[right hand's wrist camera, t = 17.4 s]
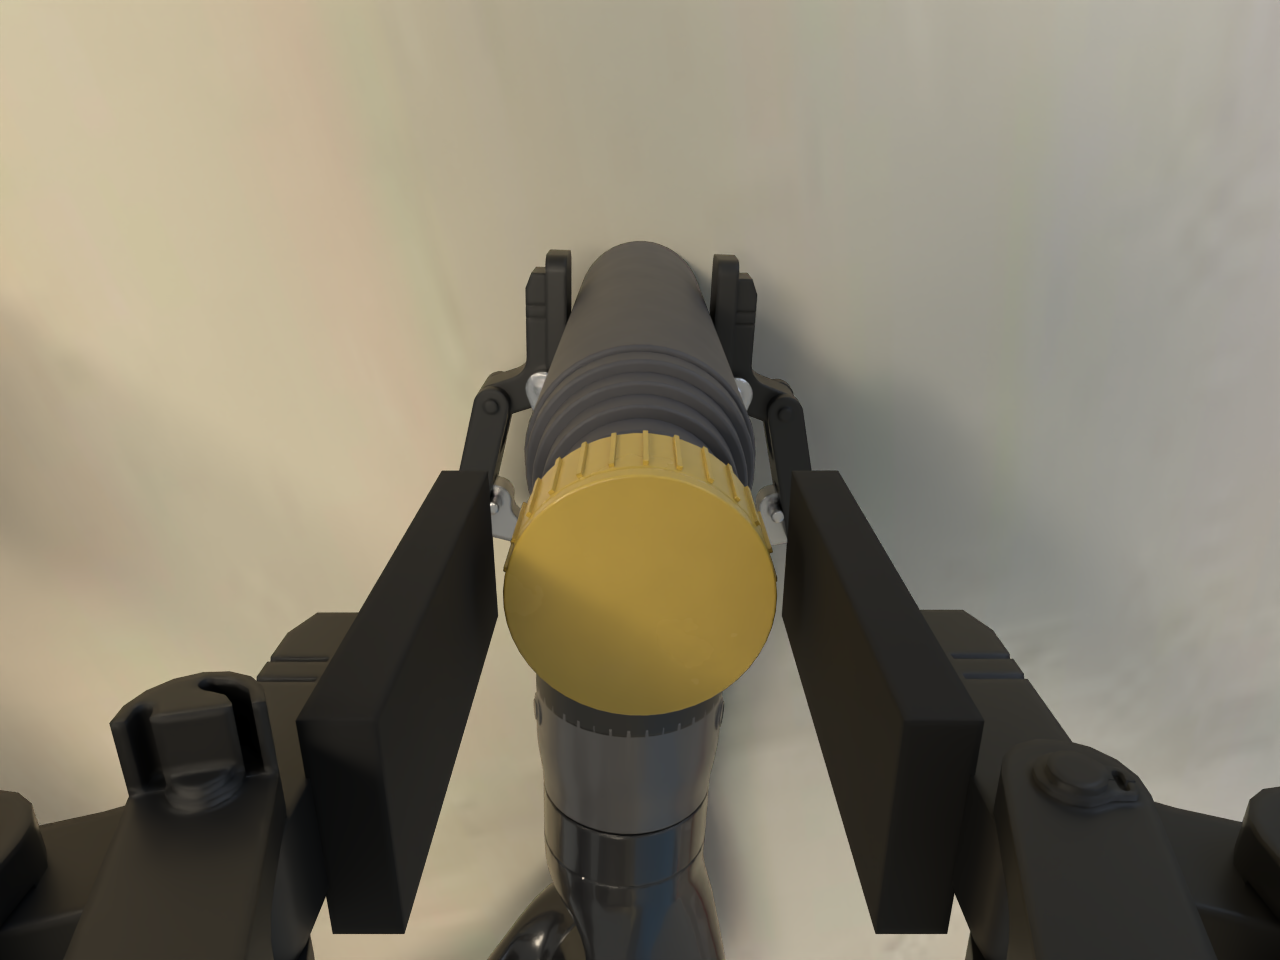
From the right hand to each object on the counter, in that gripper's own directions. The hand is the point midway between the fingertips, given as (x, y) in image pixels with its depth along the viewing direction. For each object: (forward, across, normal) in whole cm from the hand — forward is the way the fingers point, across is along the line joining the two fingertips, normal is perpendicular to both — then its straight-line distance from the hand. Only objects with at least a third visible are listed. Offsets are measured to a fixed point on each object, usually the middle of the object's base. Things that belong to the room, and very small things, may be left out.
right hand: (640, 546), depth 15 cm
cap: (-2, 0, 0) cm, 2 cm away
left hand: (+17, 0, -3) cm, 17 cm away
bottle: (+23, 0, 0) cm, 23 cm away
